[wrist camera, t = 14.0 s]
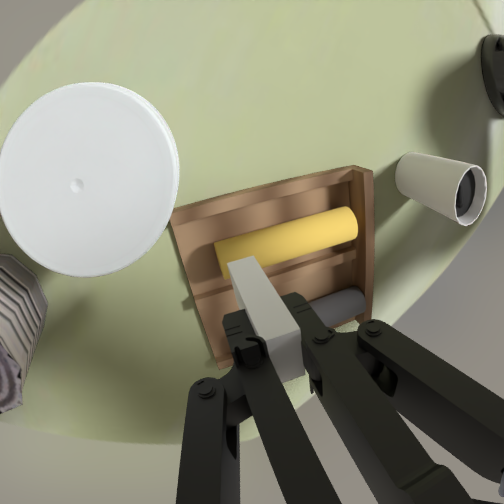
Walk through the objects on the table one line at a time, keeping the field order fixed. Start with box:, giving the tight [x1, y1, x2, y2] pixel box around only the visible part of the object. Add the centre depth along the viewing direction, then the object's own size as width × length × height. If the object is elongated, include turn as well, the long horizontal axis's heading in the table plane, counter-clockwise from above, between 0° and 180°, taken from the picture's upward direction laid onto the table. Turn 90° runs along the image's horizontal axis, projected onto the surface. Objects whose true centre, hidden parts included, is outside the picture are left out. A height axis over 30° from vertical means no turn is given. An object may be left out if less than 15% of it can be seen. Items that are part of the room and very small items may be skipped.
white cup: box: [395, 152, 487, 226], centre depth 30 cm, size 7×7×10 cm
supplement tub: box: [0, 82, 179, 277], centre depth 18 cm, size 10×10×15 cm
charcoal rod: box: [308, 285, 366, 327], centre depth 36 cm, size 14×4×4 cm, turn 101°
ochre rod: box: [214, 206, 358, 280], centre depth 31 cm, size 14×4×4 cm
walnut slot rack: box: [170, 165, 375, 370], centre depth 33 cm, size 20×20×3 cm
